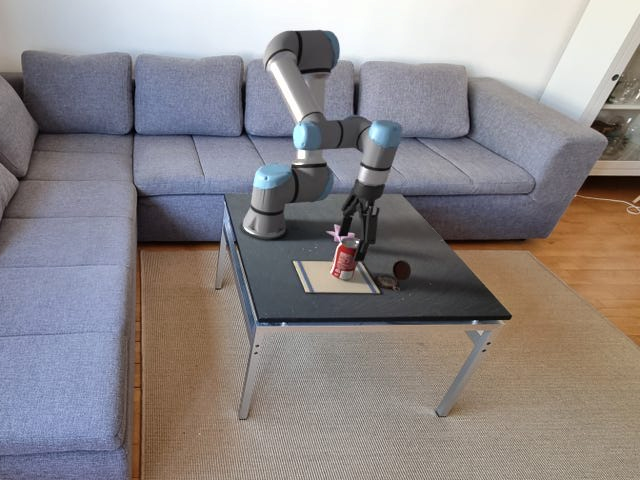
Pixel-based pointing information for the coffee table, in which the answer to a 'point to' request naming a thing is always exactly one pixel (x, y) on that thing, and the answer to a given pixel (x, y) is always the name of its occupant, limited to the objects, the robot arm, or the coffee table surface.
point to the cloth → (333, 279)
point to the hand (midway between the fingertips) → (350, 247)
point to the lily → (339, 238)
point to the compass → (395, 275)
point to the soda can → (344, 259)
